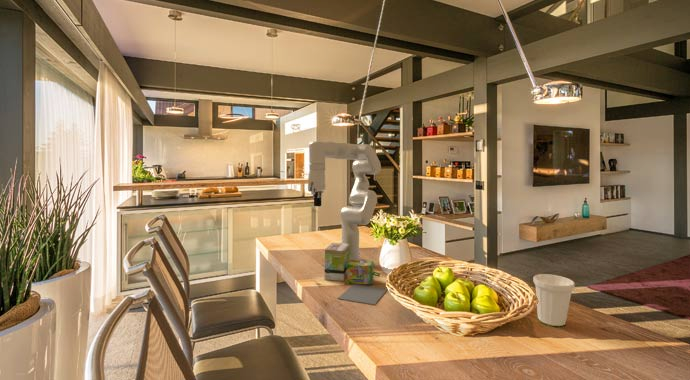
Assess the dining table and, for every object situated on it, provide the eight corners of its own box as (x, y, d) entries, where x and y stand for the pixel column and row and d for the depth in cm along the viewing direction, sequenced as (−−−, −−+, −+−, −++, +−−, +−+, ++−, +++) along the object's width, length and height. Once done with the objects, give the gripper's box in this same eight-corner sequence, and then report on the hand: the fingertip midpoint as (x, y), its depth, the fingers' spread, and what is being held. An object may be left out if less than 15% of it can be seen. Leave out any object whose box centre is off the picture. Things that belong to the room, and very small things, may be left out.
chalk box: (349, 259, 170) (380, 260, 168) (349, 278, 170) (380, 279, 168) (346, 264, 161) (379, 265, 158) (347, 284, 161) (379, 285, 159)
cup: (578, 331, 118) (581, 287, 116) (538, 328, 120) (541, 284, 118) (562, 315, 130) (565, 274, 128) (526, 312, 132) (528, 273, 131)
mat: (353, 284, 161) (353, 283, 161) (387, 289, 155) (387, 288, 155) (337, 299, 145) (337, 298, 145) (374, 305, 139) (374, 304, 138)
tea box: (344, 281, 166) (344, 250, 164) (323, 279, 168) (323, 249, 166) (350, 271, 180) (350, 243, 179) (331, 270, 182) (331, 242, 181)
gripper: (317, 167, 175) (317, 203, 177) (302, 168, 161) (303, 207, 163) (331, 167, 172) (331, 204, 174) (317, 168, 158) (317, 208, 160)
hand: (317, 205), depth 168 cm, fingers closed
